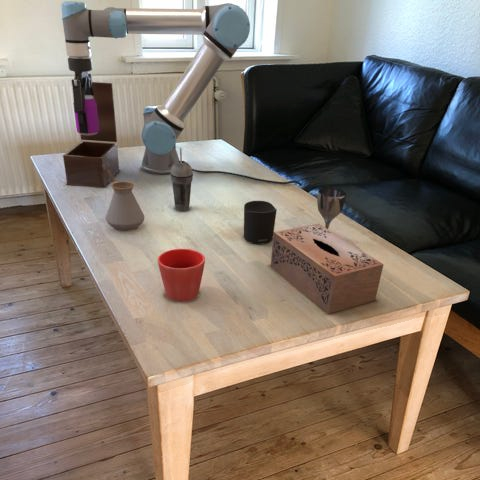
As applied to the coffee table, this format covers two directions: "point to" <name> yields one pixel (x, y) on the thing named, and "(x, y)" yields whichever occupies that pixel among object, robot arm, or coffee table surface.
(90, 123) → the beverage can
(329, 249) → the tissue box cover
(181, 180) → the beverage cup
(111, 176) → the coffee pot
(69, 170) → the chest
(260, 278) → the coffee table surface
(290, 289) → the coffee table surface
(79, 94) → the robot arm
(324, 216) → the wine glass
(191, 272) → the flower pot
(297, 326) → the coffee table surface
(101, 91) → the lid
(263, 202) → the pen holder
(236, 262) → the coffee table surface
